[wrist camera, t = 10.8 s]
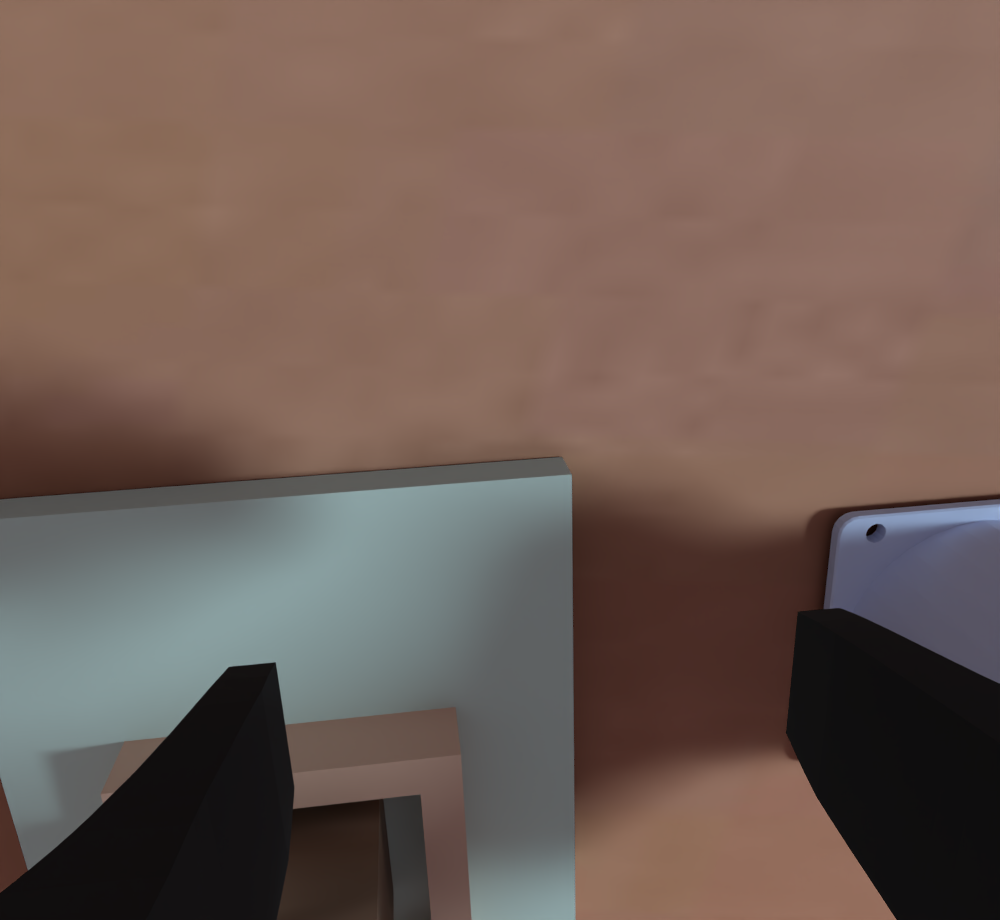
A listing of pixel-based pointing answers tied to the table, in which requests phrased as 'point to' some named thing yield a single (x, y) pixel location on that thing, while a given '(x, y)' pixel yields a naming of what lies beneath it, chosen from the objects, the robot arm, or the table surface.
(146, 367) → the table surface
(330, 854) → the spigot block
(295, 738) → the dock board
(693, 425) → the table surface
